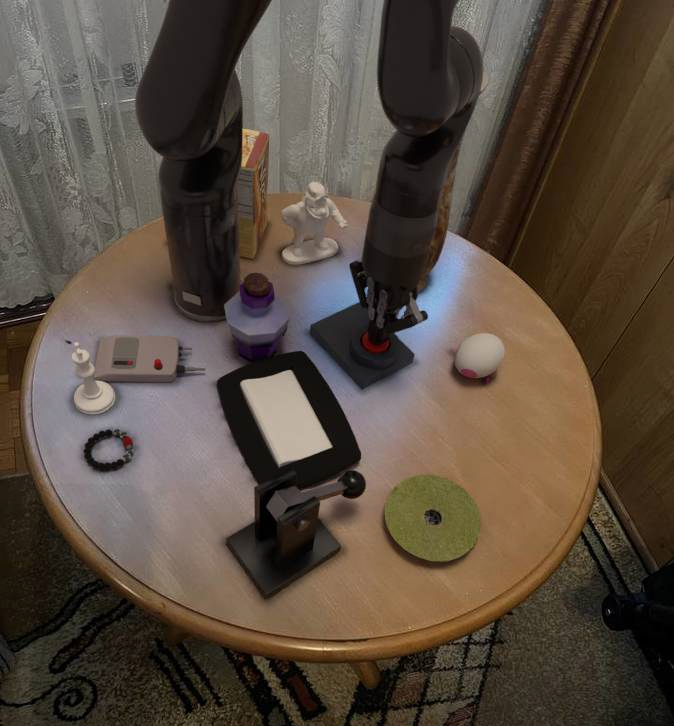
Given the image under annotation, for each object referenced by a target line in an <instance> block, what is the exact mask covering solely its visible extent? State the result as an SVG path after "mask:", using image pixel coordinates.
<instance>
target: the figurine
mask: <svg viewBox="0 0 674 726" xmlns="http://www.w3.org/2000/svg"><path fill="white" fill-rule="evenodd" d="M304 194H305V195H303V196H302V197H301V198H302V199H301V201H299V202H296V204H293V203H292V204H290V205H288V206H287V207H285V208H283V209H282V210H281V212H280V216H281V220H282V222H283V223H284V225H286V226H289V227H291V228H292V232H293V241H292V244H291V245H288V246H286V247H285V248H284V249H283V250H282V252H281V258H282V260H283V262H285V263H286V264H288V265H292V266H293V265H294V266H298V265H299V266H300V265H304V264H309V263H312V262H317V261H320V260H324V259H327V258H331V257H333V256H334V255H336V254H337V253H338V250H339V245H338V243H337V242H336V241H335V240H334V239H333V238H329V237H325V236H326V235H325V228H326V225H327V223H328V218H329V217H330V218H331V219H332V221H333V222H334V223H335V224H336V225H338V227H339V228H340V229H341V230H345V229H347V228H348V227H349V224H348V221H347V220H346V219H344V217H343V215H342V214H341V211H340V210H339V209H338V207H337V205H336V204H335V202H334V201H333V200H332V199H330V198H329V197H330V195H329V194H328V191H327V190H325V187H324V185H322V183H320V182H318V181H311V182H309V184H308V186H307V190H306V191H305V193H304ZM307 236H313V239H310V240H305V241H304V239H305V237H307Z"/></svg>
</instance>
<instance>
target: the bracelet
mask: <svg viewBox="0 0 674 726" xmlns="http://www.w3.org/2000/svg"><path fill="white" fill-rule="evenodd" d="M112 435H114V436H115V437H117V436H119V437H120V438H121V439H122V445H123V446H124V448H126V450H125V454H123V456H122V458H117V460H116V461H112V462H108V461H107V462H105V463H103V462H99V461H98V460H96V459H95V458H94V457H93V454H92V452H93V451H92V448H93V445H94V444H96V442H98V441H101V439H103V438H105V437H109V438H110V437H111V436H112ZM133 446H134V442H133V440H132V437H129V434H128V432H126V431H122V429H119V428H115V429H110V428H109V429H105V430H99V432H98V433H94V434H93V435H92V436H91V437H88V439H87V442H86V443H84V449H83V453H84V456H83V457H84V459H85V460H86V463H87V464H88V465H91V467H92V468H93V469H97V470H98V471H104V470H106V471H108V470H111V469H113V470H115V469H118V467H123V466H124V465H125V463H126V462H129V461H130V460H131V457H132V456H131V455H132V454H134V451H135V450H134V449H133Z"/></svg>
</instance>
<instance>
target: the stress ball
mask: <svg viewBox="0 0 674 726" xmlns="http://www.w3.org/2000/svg"><path fill="white" fill-rule="evenodd" d="M452 353H454V365H455V367H456V369H457V371H458V372H459V373H460V374H461V375H463V376H464V377H467V378H471V379H479V378H480V379H481V378H484V377H485V383H488V382H490V380H491V378H489V377H488V376H489V375H491V374H492V373H494V372H495V371H497V370H498V368H500V366H501V365H502V364H503V362H504V358H505V354H506V348H505V344H504V342H503V341H502V339H500V337H498V336H496V335H495V334H493V333H491V331H489V332H481V333H476V334H473V335H470V336H469V337H467V338H466V339H464V341H462V342H461V343H460V344H459V346H458V347H457V349H456V351H455V352H454V351H452Z"/></svg>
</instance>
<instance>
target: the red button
mask: <svg viewBox="0 0 674 726" xmlns="http://www.w3.org/2000/svg"><path fill="white" fill-rule="evenodd" d="M368 335H369V334H368V332H367V333H365V334H364V336H363V339H362V344H361V346H362V347H363V348H364V349H365V350H366V351H368V352H370V353H373V354H382V353H384V352H386V351H387V350H388V346H389V340H388V341H387V342H385V343H383V344H381V345H377V346H375V345H374V344H373V343H372V342H371V341H370V340H369V339H368Z"/></svg>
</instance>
